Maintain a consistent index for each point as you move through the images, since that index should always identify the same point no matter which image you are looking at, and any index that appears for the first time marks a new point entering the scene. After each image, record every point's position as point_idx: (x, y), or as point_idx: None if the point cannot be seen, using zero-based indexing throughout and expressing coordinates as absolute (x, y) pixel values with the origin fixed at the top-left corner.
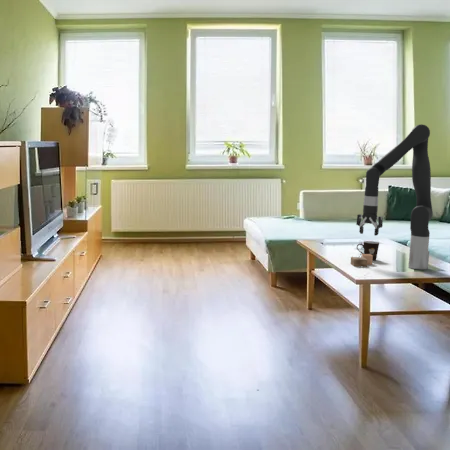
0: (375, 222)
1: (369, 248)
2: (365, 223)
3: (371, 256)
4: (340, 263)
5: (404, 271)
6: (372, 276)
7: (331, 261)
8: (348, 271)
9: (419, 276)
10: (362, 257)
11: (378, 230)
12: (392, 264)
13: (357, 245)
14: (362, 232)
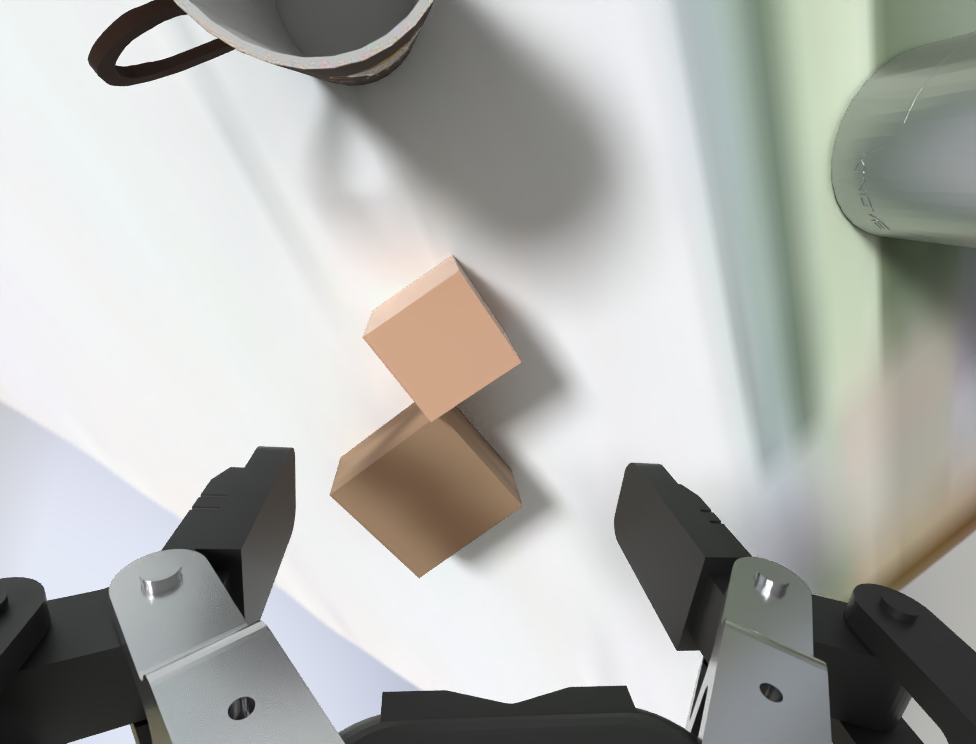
0: (753, 705)
1: (348, 75)
2: (261, 637)
3: (507, 366)
4: None
5: (815, 413)
6: None
7: (147, 492)
8: None
9: (923, 504)
10: (428, 426)
11: (736, 547)
12: (662, 136)
13: (103, 72)
14: (288, 488)
